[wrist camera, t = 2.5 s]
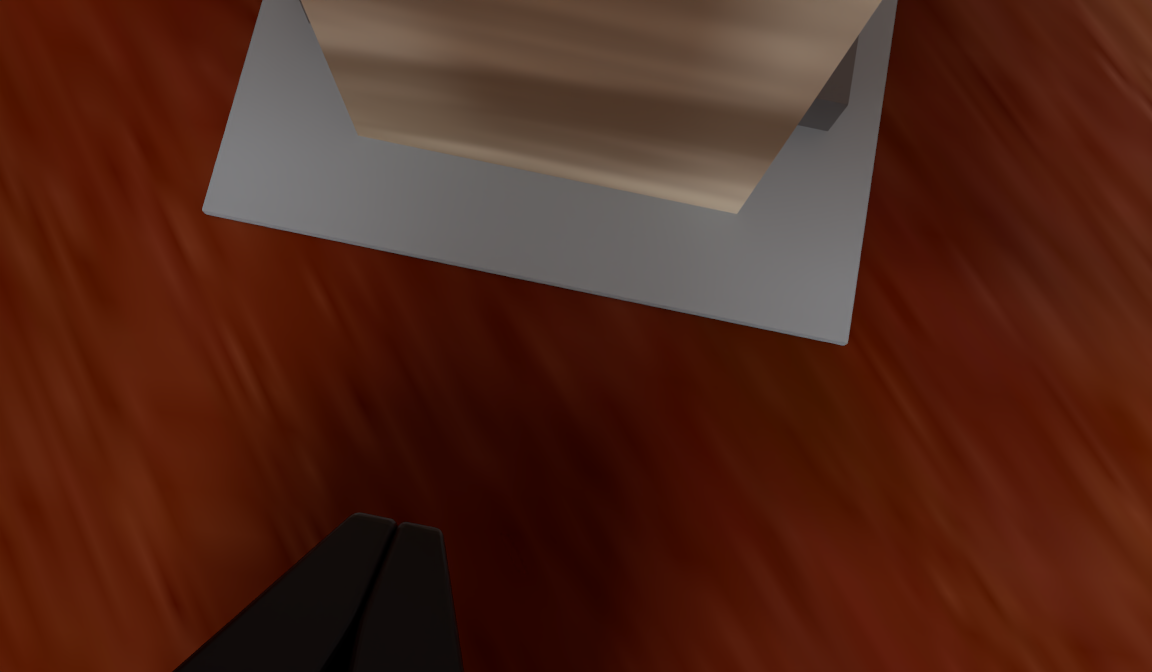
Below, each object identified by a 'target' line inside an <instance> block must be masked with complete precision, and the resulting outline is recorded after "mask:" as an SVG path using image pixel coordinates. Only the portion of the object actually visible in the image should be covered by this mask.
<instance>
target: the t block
mask: <svg viewBox="0 0 1152 672" xmlns="http://www.w3.org/2000/svg"><path fill="white" fill-rule="evenodd" d="M881 1H882V0H301V2H302V4H303V7H304V9H305V12H306V14H307V16H308V19H309V21H310V23H311V26H312V28H313V30H314V33H315V35H316V38H317V40H318V42H319V45H320V47H321V49H322V52H323V54H324V56H325V59H326V61H327V63H328V66H329V68H330V71H331V73H332V75H333V78H334V80H335V82H336V85H337V87H338V89H339V92H340V94H341V97H342V99H343V101H344V104H345V106H346V108H347V111H348V113H349V115H350V118H351V120H352V122H353V125H354V127H355V130H356V132H357V134H358V136H362V137H367V138H372V139H377V140H382V141H387V142H391V143H396V144H401V145H406V146H411V147H416V148H420V149H425V150H430V151H435V152H440V153H444V154H449V155H454V156H459V157H464V158H469V159H473V160H478V161H483V162H488V163H493V164H497V165H502V166H507V167H512V168H517V169H522V170H526V171H531V172H536V173H541V174H546V175H551V176H555V177H560V178H565V179H570V180H575V181H579V182H584V183H589V184H594V185H599V186H604V187H608V188H613V189H618V190H623V191H628V192H632V193H637V194H642V195H647V196H652V197H657V198H661V199H666V200H671V201H676V202H681V203H686V204H690V205H695V206H700V207H705V208H710V209H714V210H719V211H724V212H729V213H734V214H737V213H738V212H739V210H740V209H741V208H742V206H743V205H744V203H745V202H746V200H747V199H748V197H749V196H750V194H751V193H752V191H753V190H754V188H755V187H756V185H757V184H758V182H759V181H760V180H761V178H762V177H763V175H764V174H765V172H766V171H767V169H768V168H769V166H770V165H771V163H772V162H773V160H774V159H775V157H776V156H777V154H778V153H779V151H780V150H781V149H782V147H783V146H784V144H785V143H786V141H787V140H788V138H789V137H790V135H791V134H792V132H793V131H794V129H795V128H796V126H797V125H798V123H799V122H800V121H801V119H802V118H803V116H804V115H805V113H806V112H807V110H808V109H809V107H810V106H811V104H812V103H813V101H814V100H815V98H816V97H817V95H818V94H819V93H820V91H821V90H822V88H823V87H824V85H825V84H826V82H827V81H828V79H829V78H830V76H831V75H832V73H833V72H834V70H835V69H836V67H837V66H838V65H839V63H840V62H841V60H842V59H843V57H844V56H845V54H846V53H847V51H848V50H849V48H850V47H851V45H852V44H853V42H854V41H855V39H856V38H857V37H858V35H859V34H860V32H861V31H862V29H863V28H864V26H865V25H866V23H867V22H868V20H869V19H870V17H871V16H872V14H873V13H874V11H875V10H876V9H877V7H878V6H879V4H880V3H881Z"/></svg>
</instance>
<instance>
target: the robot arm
mask: <svg viewBox="0 0 1152 672" xmlns="http://www.w3.org/2000/svg"><path fill="white" fill-rule="evenodd" d="M173 672H464V668H463V662H462V655H461V648H460V642H459V635H458V628H457V622H456V615H455V608H454V602H453V595H452V588H451V582H450V575H449V569H448V562H447V555H446V549H445V542H444V536H443V533H442V531H441V530H440V529H438V528H435V527H430V526H425V525H420V524H415V523H410V522H403V523H401V524H400V525H399V526H397V523H396V522H395V521H394V520H393V519H390V518H385V517H380V516H375V515H370V514H366V513H355V514H352V515H351V516H349V517H348V518H347V519H346V520H345V521H344V522H342V523H341V524H340V525H339V526H338V527H337V528H336V529H334V530H333V531H332V532H331V533H330V534H329V535H328V536H326V537H325V538H324V539H323V540H322V541H321V542H320V543H318V544H317V545H316V546H315V547H314V548H313V549H312V550H310V551H309V552H308V553H307V554H306V555H305V556H304V557H302V558H301V559H300V560H299V561H298V562H297V563H296V564H295V565H293V566H292V567H291V568H290V569H289V570H288V571H287V572H285V573H284V574H283V575H282V576H281V577H280V578H279V579H277V580H276V581H275V582H274V583H273V584H272V585H271V586H269V587H268V588H267V589H266V590H265V591H264V592H263V593H261V594H260V595H259V596H258V597H257V598H256V599H255V600H253V601H252V602H251V603H250V604H249V605H248V606H247V607H245V608H244V609H243V610H242V611H241V612H240V613H239V614H238V615H236V616H235V617H234V618H233V619H232V620H231V621H230V622H228V623H227V624H226V625H225V626H224V627H223V628H222V629H220V630H219V631H218V632H217V633H216V634H215V635H214V636H212V637H211V638H210V639H209V640H208V641H207V642H206V643H204V644H203V645H202V646H201V647H200V648H199V649H198V650H196V651H195V652H194V653H193V654H192V655H191V656H190V657H188V658H187V659H186V660H185V661H184V662H183V663H182V664H181V665H179V666H178V667H177V668H176V669H175V670H174V671H173Z"/></svg>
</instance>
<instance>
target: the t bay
mask: <svg viewBox="0 0 1152 672" xmlns="http://www.w3.org/2000/svg"><path fill="white" fill-rule="evenodd" d="M896 7H897V0H882V1H881V3H880V4H879V6H878V7H877V9H876V10H875V11H874V13H873V14H872V16H871V17H870V19H869V20H868V22H867V23H866V25H865V26H864V28H863V29H862V31H861V32H860V34H859V35H858V37H857V38H856V39H855V41H854V42H853V44H852V45H851V47H850V48H849V50H848V51H847V53H846V54H845V56H844V57H843V59H842V60H841V62H840V63H839V65H838V66H837V67H836V69H835V70H834V72H833V73H832V75H831V76H830V78H829V79H828V81H827V82H826V84H825V85H824V87H823V88H822V90H821V91H820V93H819V94H818V95H817V97H816V98H815V100H814V101H813V103H812V104H811V106H810V107H809V109H808V110H807V112H806V113H805V115H804V116H803V118H802V119H801V121H800V122H799V123H798V125H797V126H796V128H795V129H794V131H793V132H792V134H791V135H790V137H789V138H788V140H787V141H786V143H785V144H784V146H783V147H782V149H781V150H780V151H779V153H778V154H777V156H776V157H775V159H774V160H773V162H772V163H771V165H770V166H769V168H768V169H767V171H766V172H765V174H764V175H763V177H762V178H761V180H760V181H759V182H758V184H757V185H756V187H755V188H754V190H753V191H752V193H751V194H750V196H749V197H748V199H747V200H746V202H745V203H744V205H743V206H742V208H741V209H740V210H739V212H738V213H737V214H734V213H729V212H724V211H719V210H714V209H710V208H705V207H700V206H695V205H690V204H686V203H681V202H676V201H671V200H666V199H661V198H657V197H652V196H647V195H642V194H637V193H632V192H628V191H623V190H618V189H613V188H608V187H604V186H599V185H594V184H589V183H584V182H579V181H575V180H570V179H565V178H560V177H555V176H551V175H546V174H541V173H536V172H531V171H526V170H522V169H517V168H512V167H507V166H502V165H497V164H493V163H488V162H483V161H478V160H473V159H469V158H464V157H459V156H454V155H449V154H444V153H440V152H435V151H430V150H425V149H420V148H416V147H411V146H406V145H401V144H396V143H391V142H387V141H382V140H377V139H372V138H367V137H362V136H358V134H357V132H356V130H355V127H354V125H353V122H352V120H351V118H350V115H349V113H348V111H347V108H346V106H345V104H344V101H343V99H342V97H341V94H340V92H339V89H338V87H337V85H336V82H335V80H334V78H333V75H332V73H331V71H330V68H329V66H328V63H327V61H326V59H325V56H324V54H323V52H322V49H321V47H320V45H319V42H318V40H317V38H316V35H315V33H314V30H313V28H312V26H311V23H310V21H309V19H308V16H307V14H306V12H305V9H304V7H303V4H302V2H301V0H263V1H262V4H261V8H260V11H259V15H258V18H257V21H256V25H255V28H254V32H253V35H252V39H251V42H250V46H249V49H248V53H247V56H246V59H245V63H244V66H243V70H242V73H241V77H240V80H239V84H238V87H237V91H236V94H235V98H234V101H233V104H232V108H231V111H230V115H229V118H228V122H227V125H226V129H225V132H224V136H223V139H222V142H221V146H220V149H219V153H218V156H217V160H216V163H215V167H214V170H213V174H212V177H211V180H210V184H209V187H208V191H207V194H206V198H205V201H204V205H203V208H202V211H203V212H204V213H205V214H207V215H212V216H217V217H222V218H227V219H232V220H236V221H241V222H246V223H251V224H256V225H261V226H266V227H270V228H275V229H280V230H285V231H290V232H295V233H300V234H304V235H309V236H314V237H319V238H324V239H329V240H334V241H338V242H343V243H348V244H353V245H358V246H363V247H368V248H372V249H377V250H382V251H387V252H392V253H397V254H402V255H406V256H411V257H416V258H421V259H426V260H431V261H436V262H440V263H445V264H450V265H455V266H460V267H465V268H470V269H474V270H479V271H484V272H489V273H494V274H499V275H503V276H508V277H513V278H518V279H523V280H528V281H533V282H537V283H542V284H547V285H552V286H557V287H562V288H567V289H571V290H576V291H581V292H586V293H591V294H596V295H601V296H605V297H610V298H615V299H620V300H625V301H630V302H635V303H639V304H644V305H649V306H654V307H659V308H664V309H669V310H673V311H678V312H683V313H688V314H693V315H698V316H703V317H707V318H712V319H717V320H722V321H727V322H732V323H737V324H741V325H746V326H751V327H756V328H761V329H766V330H770V331H775V332H780V333H785V334H790V335H795V336H800V337H804V338H809V339H814V340H819V341H824V342H829V343H834V344H838V345H843V346H844V345H845V344H847V343H848V338H849V331H850V324H851V317H852V310H853V303H854V296H855V289H856V283H857V276H858V269H859V262H860V255H861V248H862V241H863V234H864V227H865V221H866V214H867V207H868V200H869V193H870V186H871V179H872V172H873V166H874V159H875V152H876V145H877V138H878V131H879V124H880V117H881V111H882V104H883V97H884V90H885V83H886V76H887V69H888V62H889V55H890V49H891V42H892V35H893V28H894V21H895V14H896Z"/></svg>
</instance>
